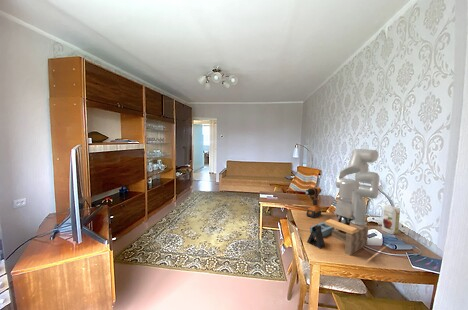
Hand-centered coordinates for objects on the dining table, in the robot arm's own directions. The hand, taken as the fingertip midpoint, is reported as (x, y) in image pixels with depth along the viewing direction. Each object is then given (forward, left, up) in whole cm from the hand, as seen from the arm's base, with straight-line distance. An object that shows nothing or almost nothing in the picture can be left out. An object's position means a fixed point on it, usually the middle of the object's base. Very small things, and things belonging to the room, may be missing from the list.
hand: (343, 225), depth 132 cm
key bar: (+15, +5, +4) cm, 17 cm away
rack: (+5, -12, -9) cm, 16 cm away
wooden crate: (+7, +4, -9) cm, 12 cm away
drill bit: (0, 0, -6) cm, 6 cm away
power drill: (-18, -35, -9) cm, 40 cm away
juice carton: (-40, +14, -9) cm, 43 cm away
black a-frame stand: (+22, -6, -9) cm, 25 cm away
